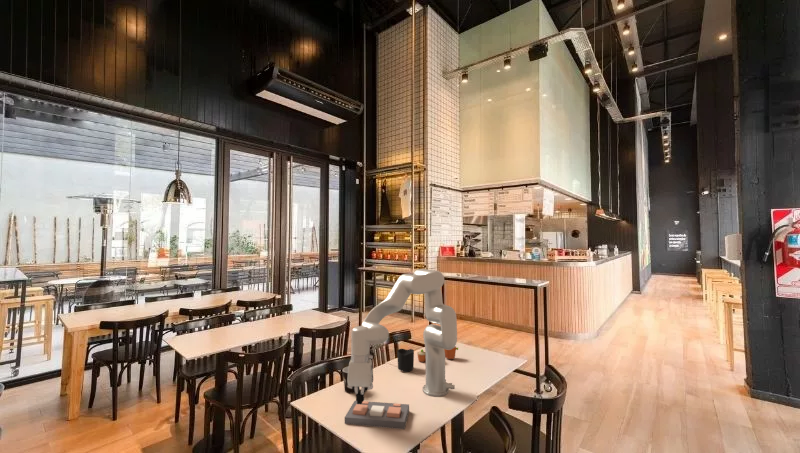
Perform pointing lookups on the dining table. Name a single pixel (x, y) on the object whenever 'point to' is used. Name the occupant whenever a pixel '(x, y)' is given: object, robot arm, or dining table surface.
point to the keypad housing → (378, 420)
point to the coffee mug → (345, 376)
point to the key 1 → (360, 409)
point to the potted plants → (448, 354)
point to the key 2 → (394, 412)
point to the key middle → (377, 411)
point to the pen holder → (405, 359)
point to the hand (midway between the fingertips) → (360, 402)
